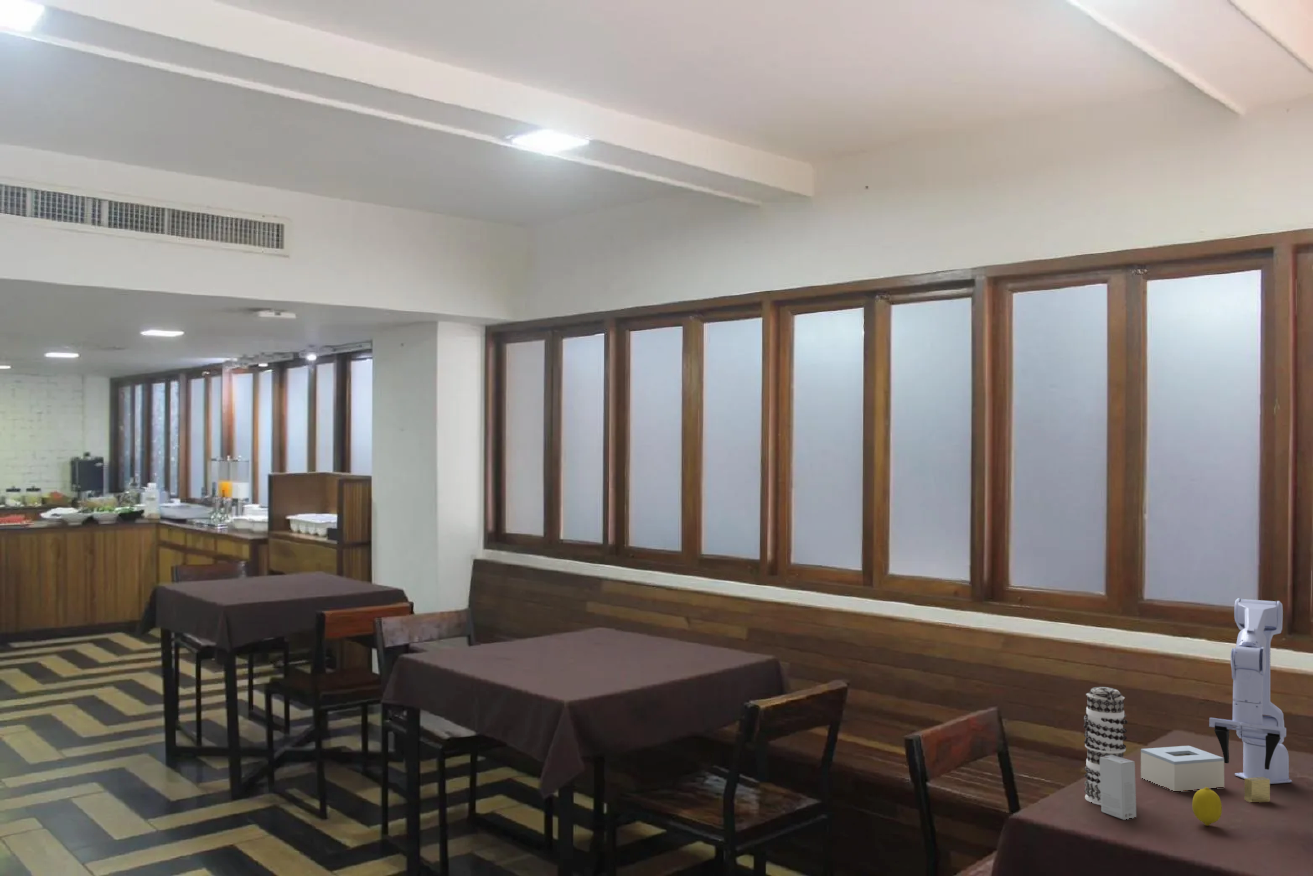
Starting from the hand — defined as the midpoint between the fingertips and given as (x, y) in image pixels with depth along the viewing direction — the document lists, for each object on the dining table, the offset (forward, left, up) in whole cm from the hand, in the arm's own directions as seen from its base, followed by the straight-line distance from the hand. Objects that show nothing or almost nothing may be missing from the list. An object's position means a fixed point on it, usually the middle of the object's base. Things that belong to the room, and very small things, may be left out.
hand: (1246, 766), depth 225 cm
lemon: (+14, +4, -11) cm, 18 cm away
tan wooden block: (-10, -7, -11) cm, 17 cm away
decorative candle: (+24, -15, -11) cm, 30 cm away
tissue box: (-3, -22, -11) cm, 25 cm away
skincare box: (+28, -6, -11) cm, 30 cm away
